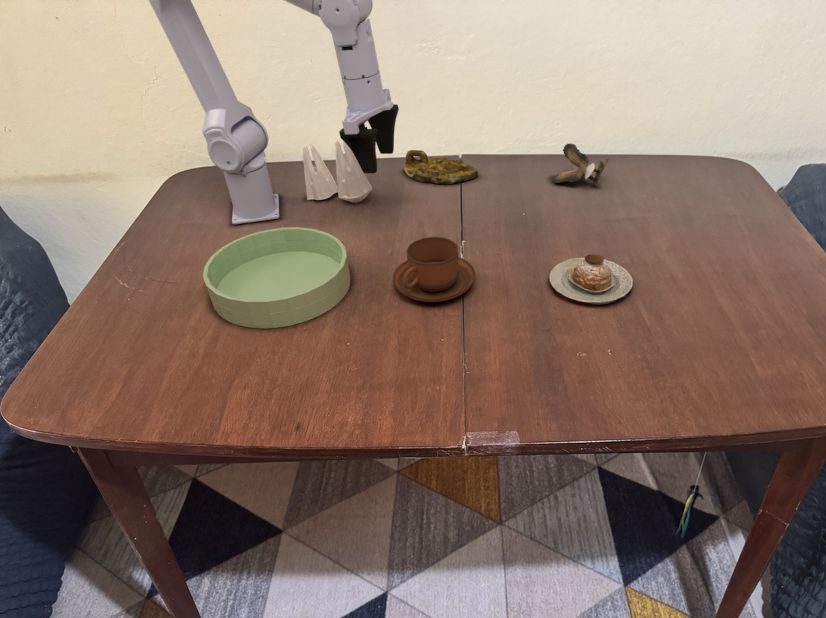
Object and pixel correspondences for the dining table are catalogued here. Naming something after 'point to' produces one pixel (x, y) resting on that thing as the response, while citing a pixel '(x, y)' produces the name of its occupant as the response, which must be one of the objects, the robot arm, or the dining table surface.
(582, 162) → the eagle figurine
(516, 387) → the dining table surface
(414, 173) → the seal
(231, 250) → the bowl
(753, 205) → the dining table surface
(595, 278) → the pastry
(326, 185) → the shaker set
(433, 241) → the cup and saucer
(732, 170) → the dining table surface
